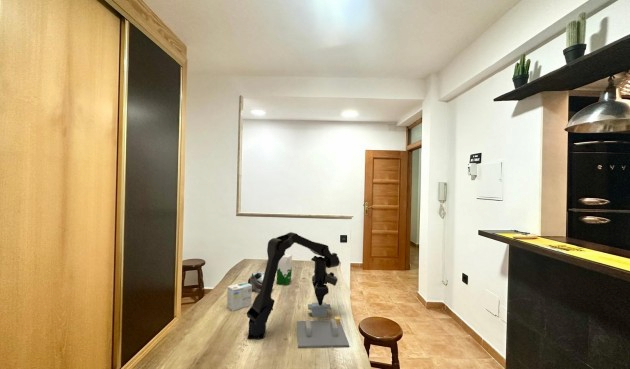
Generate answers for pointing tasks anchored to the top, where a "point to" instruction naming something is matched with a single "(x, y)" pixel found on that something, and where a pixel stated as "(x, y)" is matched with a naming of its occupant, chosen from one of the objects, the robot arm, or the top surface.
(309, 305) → the servo block
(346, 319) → the top surface
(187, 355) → the top surface
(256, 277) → the lucky cat figurine
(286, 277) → the milk carton
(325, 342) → the plate
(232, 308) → the light bulb box
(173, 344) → the top surface
